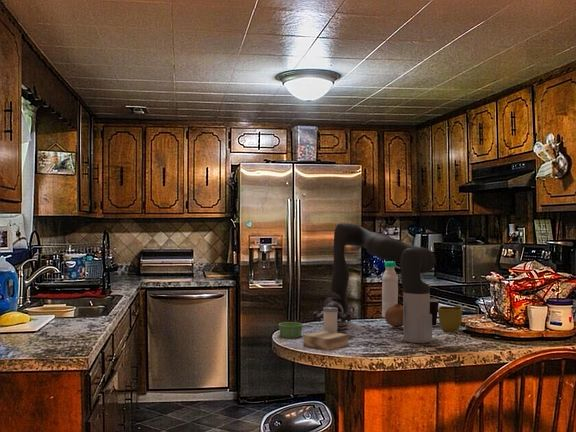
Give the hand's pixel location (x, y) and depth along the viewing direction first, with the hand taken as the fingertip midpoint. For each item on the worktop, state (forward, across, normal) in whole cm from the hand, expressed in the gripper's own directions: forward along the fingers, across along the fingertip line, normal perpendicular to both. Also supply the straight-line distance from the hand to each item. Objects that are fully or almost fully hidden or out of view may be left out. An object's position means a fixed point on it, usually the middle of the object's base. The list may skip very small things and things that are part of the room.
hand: (330, 319), depth 204 cm
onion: (-22, +25, +7) cm, 34 cm away
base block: (+14, -1, +6) cm, 15 cm away
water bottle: (-48, +23, +7) cm, 53 cm away
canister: (+2, 0, +6) cm, 7 cm away
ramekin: (0, -15, +7) cm, 16 cm away
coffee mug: (-35, +39, +7) cm, 52 cm away
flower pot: (-20, +46, +7) cm, 50 cm away
